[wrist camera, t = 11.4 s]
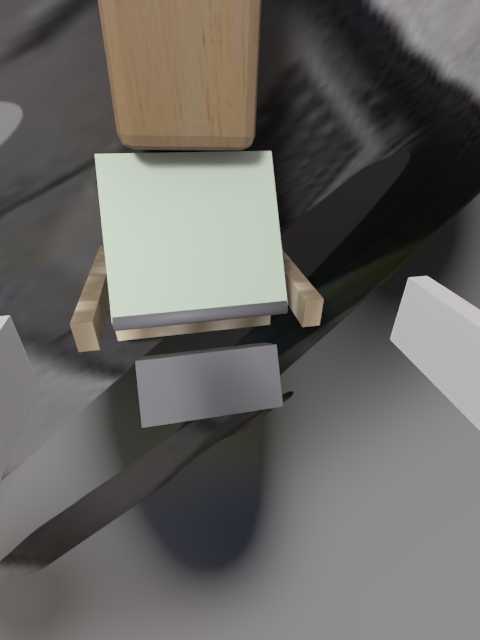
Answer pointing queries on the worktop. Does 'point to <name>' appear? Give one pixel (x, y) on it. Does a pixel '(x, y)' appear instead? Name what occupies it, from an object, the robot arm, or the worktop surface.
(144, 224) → the trapdoor
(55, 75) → the worktop surface
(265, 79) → the worktop surface
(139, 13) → the wooden block
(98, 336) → the trapdoor frame
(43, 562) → the worktop surface
